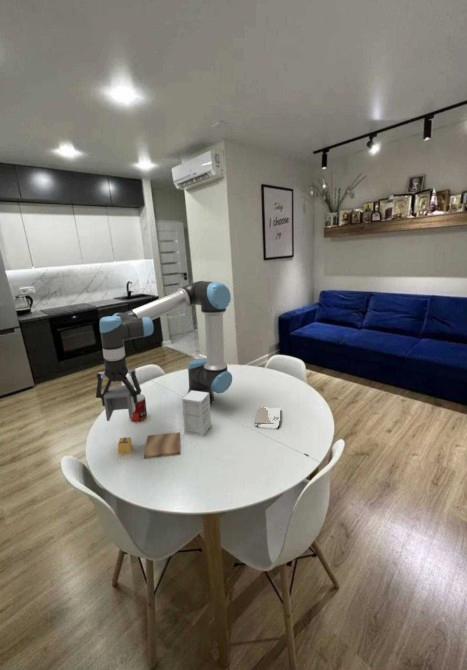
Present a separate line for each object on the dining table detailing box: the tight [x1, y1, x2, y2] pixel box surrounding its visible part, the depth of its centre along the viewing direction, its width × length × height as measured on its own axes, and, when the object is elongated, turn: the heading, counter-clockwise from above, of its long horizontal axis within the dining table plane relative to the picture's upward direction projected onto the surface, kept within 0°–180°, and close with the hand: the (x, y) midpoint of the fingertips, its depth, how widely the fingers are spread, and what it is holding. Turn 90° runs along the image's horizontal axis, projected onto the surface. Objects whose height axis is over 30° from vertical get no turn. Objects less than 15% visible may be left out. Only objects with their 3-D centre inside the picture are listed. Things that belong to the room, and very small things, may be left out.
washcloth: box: [254, 406, 279, 425], centre depth 146 cm, size 12×18×3 cm, turn 170°
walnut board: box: [143, 431, 181, 459], centre depth 126 cm, size 14×14×1 cm
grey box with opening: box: [104, 384, 134, 422], centre depth 118 cm, size 9×9×10 cm
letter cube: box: [117, 436, 133, 455], centre depth 123 cm, size 4×4×5 cm
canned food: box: [130, 393, 148, 423], centre depth 146 cm, size 8×8×11 cm
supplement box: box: [181, 390, 212, 437], centre depth 136 cm, size 10×9×17 cm
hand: (121, 411), depth 119 cm, fingers closed on grey box with opening, 9 cm apart
